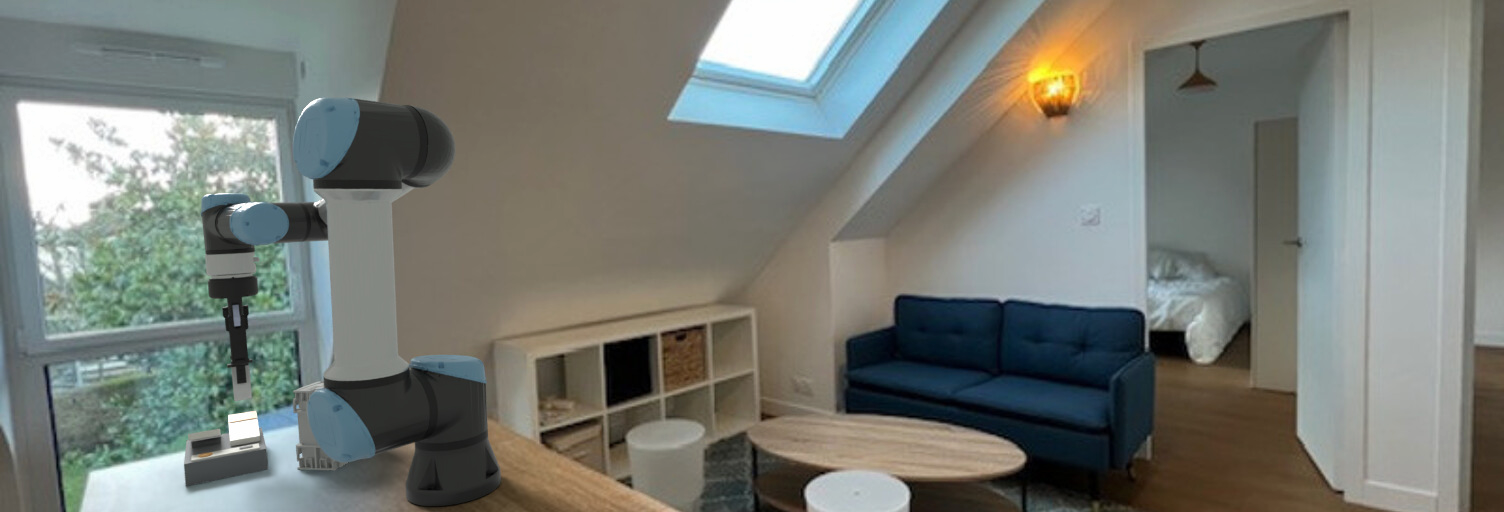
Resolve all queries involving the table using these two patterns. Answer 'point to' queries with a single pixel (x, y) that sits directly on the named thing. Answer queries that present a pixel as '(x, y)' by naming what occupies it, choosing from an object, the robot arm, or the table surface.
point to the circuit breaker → (310, 434)
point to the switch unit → (222, 458)
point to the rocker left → (204, 435)
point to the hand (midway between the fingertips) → (243, 399)
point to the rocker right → (243, 428)
